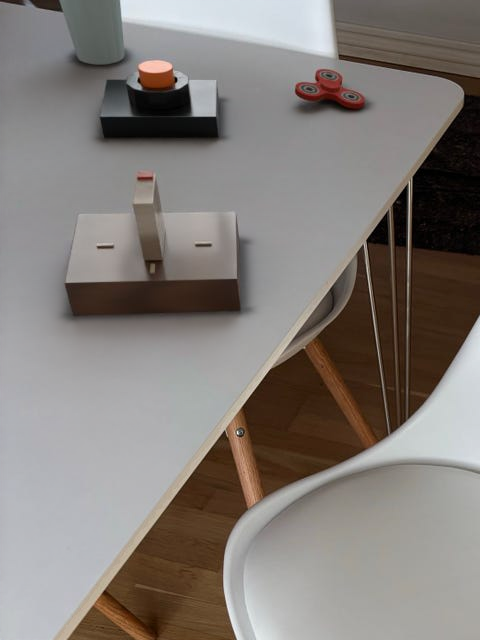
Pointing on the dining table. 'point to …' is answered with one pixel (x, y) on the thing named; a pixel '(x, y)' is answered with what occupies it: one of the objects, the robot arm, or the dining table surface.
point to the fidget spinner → (329, 90)
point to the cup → (95, 29)
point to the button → (156, 74)
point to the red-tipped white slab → (149, 216)
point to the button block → (160, 109)
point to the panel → (154, 265)
